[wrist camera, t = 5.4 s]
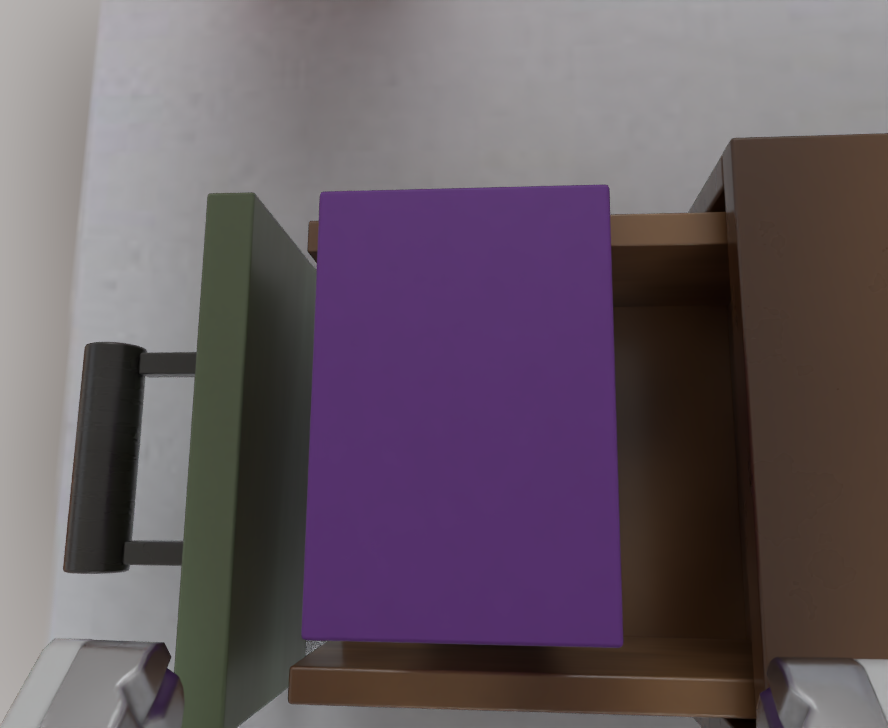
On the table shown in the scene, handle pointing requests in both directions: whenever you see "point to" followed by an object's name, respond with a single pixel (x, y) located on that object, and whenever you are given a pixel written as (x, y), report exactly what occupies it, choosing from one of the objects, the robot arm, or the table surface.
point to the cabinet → (810, 389)
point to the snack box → (464, 420)
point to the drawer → (286, 481)
